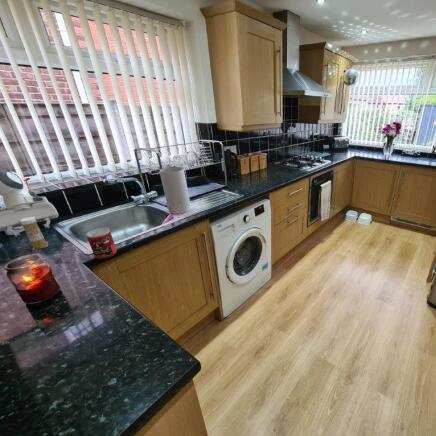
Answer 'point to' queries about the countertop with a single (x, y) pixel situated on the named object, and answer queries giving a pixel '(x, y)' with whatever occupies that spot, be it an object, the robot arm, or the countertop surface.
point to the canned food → (101, 243)
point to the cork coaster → (41, 247)
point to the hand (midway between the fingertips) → (33, 231)
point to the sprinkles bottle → (33, 232)
